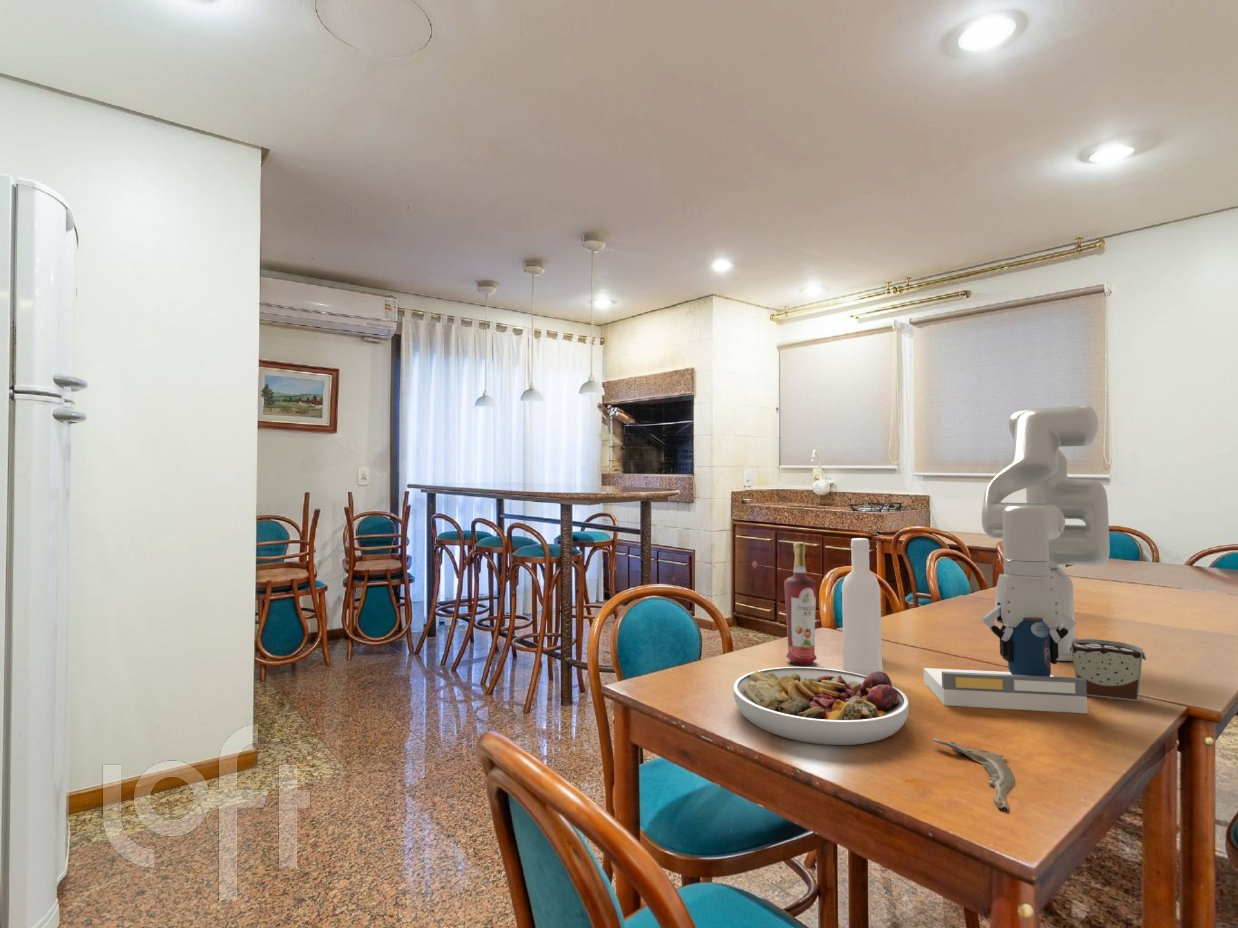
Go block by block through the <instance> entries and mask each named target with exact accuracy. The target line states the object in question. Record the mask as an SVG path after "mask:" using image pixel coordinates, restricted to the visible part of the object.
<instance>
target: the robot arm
mask: <svg viewBox="0 0 1238 928" xmlns="http://www.w3.org/2000/svg"><path fill="white" fill-rule="evenodd" d="M1008 419H1009V420H1008V428H1009V431H1010V435H1011V437H1012V439H1013V441H1012V443H1013V445H1012V455H1011V463H1010V464H1009V465H1008V466H1006V467H1005V468H1003V469H1002V470H1001V471H999V472H998V473H997V474H996V475H995V476H994V477H993V478H992V479H991V480H990V481H989V483H988V484H987V487H986V489H985V491H984V496H983V501H982V509H981V527H982V529H983V531H984V533H985V534H986V535H987V536H988V537H990V538H993V539H1002V552H1003V553H1002V554H1003V573H999V575H998V578H997V583H996V591H995V600H994V602H995V603H994V604H995V605H994V608H993V609H991V610H990V611H989V612H988V613H986V614H985V615H983V617H981V622H983V623H984V625H985V626H986V627H987V628H989V630H990V632H992V633H993V634H994V635H996V637H997V638H999V654H1000V656H1001V657H1002V659H1003V660H1005V661H1006V662H1007V663H1008V662H1013V650H1012V642H1011V641H1010V636H1011V635H1012V633H1013V628H1016V627H1017V625H1018V624H1019V623H1020V622H1022V621H1023V618H1034V619H1039V618H1043V621H1044V622H1045V623H1046V625H1047V626H1048V627H1049V630H1050V660H1051V664H1052V665H1057V663H1058V662H1057V661H1061V662H1062V661H1063V662H1073V656H1072V650H1071V651H1070V653H1068V649H1069V645H1070V644H1071V641H1073V640H1077V639H1080V638H1079V637H1076V636H1075V633H1076V631H1075V626H1076V621H1075V605H1074V604H1075V603H1074V601H1075V600H1074V599H1075V598H1074V585H1073V582H1072V579H1071V578H1070V576H1069V575H1068V574H1067V573H1066V572H1065V571H1064V569H1062V568H1061V566H1060V565H1070V566H1085V567H1087V566H1088V567H1099V566H1103V565H1105V564H1107V562H1108V561H1109V558H1110V553H1111V551H1110V550H1111V549H1110V548H1111V546H1110V526H1109V524H1110V522H1109V505H1108V504H1109V502H1108V496H1107V492H1106V489H1105V487H1104V485H1103V484H1102V483H1101V482H1100V481H1098V480H1094V479H1089V478H1088V479H1086V478H1085V479H1083V478H1082V479H1069V477H1068V464H1067V463H1068V462H1067V457H1066V456H1065V454H1064V453H1063V452H1062V451H1061V450H1060V449H1059V448H1060V447H1063V448H1065V447H1085V446H1090V445H1091V444H1092V443H1093V442H1094V441H1095V438H1096V436H1097V434H1098V430H1099V419H1098V414H1097V412H1096V410H1095V409H1094V408H1093V407H1092V406H1090V405H1075V406H1058V407H1040V408H1030V409H1028V408H1027V409H1024V410H1019V411H1016V412H1014V413H1013V414H1011V416H1009V418H1008ZM1024 489H1025V495H1026V497H1025V498H1026V502H1003V500H1004V499H1006V497H1008V496H1009V495H1010V496H1011V495H1012V494H1013V493H1016V492H1018V491H1021V490H1024ZM1066 520H1081V521H1083V522H1084V523H1085V524H1080V525H1079V524H1066ZM994 621H996V622H997V623H1000V624H1001V626H1000V627H998V625H996V623H995V622H994Z"/></svg>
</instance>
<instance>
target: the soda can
mask: <svg viewBox="0 0 1238 928" xmlns="http://www.w3.org/2000/svg"><path fill="white" fill-rule="evenodd" d="M1010 641H1011V642H1012V650H1013V662H1007V667H1008V668H1007V669H1008V672H1010V673H1011V674H1012V675H1028V676H1050V675H1052V668H1051V667H1052V665H1051V664H1052V663H1051V660H1050V630H1049V627H1048V626H1047V625H1046V623H1045V622H1044V621H1043V618H1039V619H1034V618H1023V621H1022V622H1020V623H1019V624H1018V625H1017V627H1016V628H1013V633H1012V635H1011V636H1010Z"/></svg>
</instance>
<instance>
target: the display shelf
mask: <svg viewBox="0 0 1238 928" xmlns="http://www.w3.org/2000/svg"><path fill="white" fill-rule="evenodd" d="M923 683H924V684H925V685H926V687H927V688H929V690H930V691H931V692H932V693H933V695H934V696H935V697H936V698H937V699H938V700H939V701H940V703H941V704H943V706H946V707H947V706H951V707H952V706H953V707H965V708H966V707H967V708H968V707H969V708H983V709H985V708H986V709H1004V710H1018V711H1019V710H1020V711H1037V712H1038V711H1039V712H1057V713H1074V714H1075V713H1076V714H1088V696H1087V688H1086V680H1085V679H1084V678H1076V677H1069V676H1067V677H1066V676H1054V675H1053V674H1051V675H1050V676H1028V675H1012V674H1011V673H1010V671H1000V670H999V671H996V670H993V671H992V670H977V669H976V670H975V669H974V670H973V669H970V670H969V669H957V668H956V669H955V668H954V669H950V668H933V667H932V668H931V667H923Z"/></svg>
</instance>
